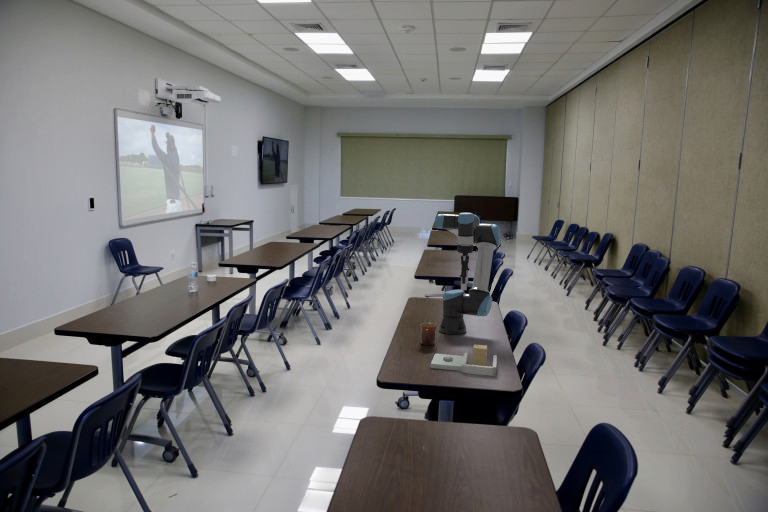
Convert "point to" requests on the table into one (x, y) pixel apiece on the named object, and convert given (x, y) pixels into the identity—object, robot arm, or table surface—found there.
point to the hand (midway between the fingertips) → (464, 286)
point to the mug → (428, 333)
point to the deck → (462, 364)
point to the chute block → (480, 355)
